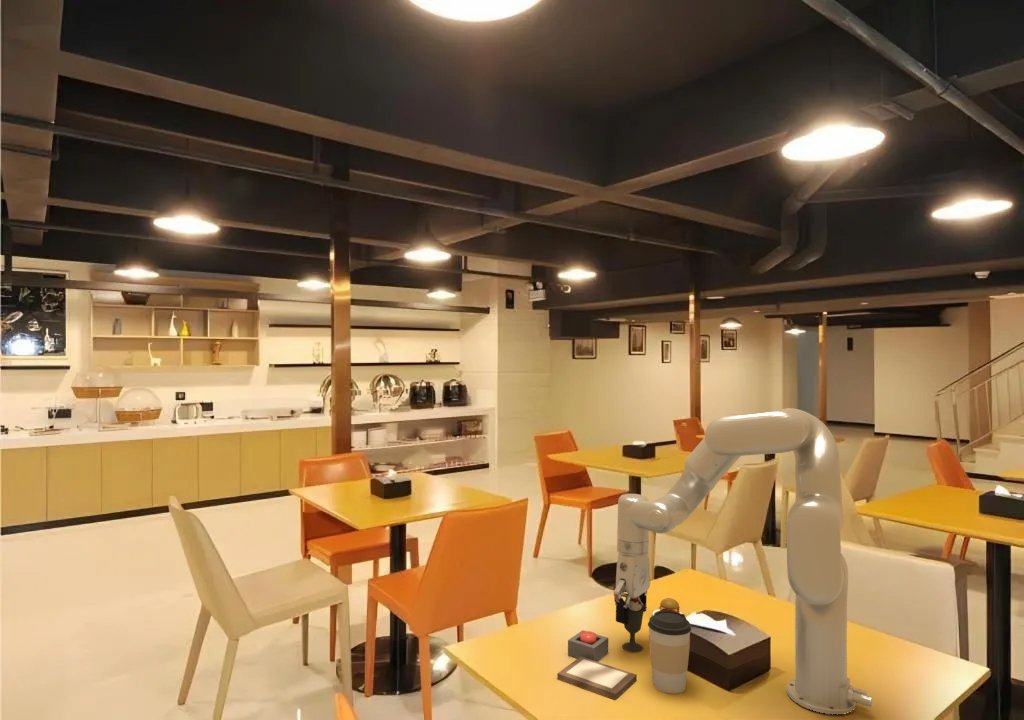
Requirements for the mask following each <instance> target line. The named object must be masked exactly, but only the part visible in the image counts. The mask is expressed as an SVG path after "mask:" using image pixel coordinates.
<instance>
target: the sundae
mask: <svg viewBox="0 0 1024 720" xmlns="http://www.w3.org/2000/svg"><path fill="white" fill-rule="evenodd" d="M628 607H629V624H628V625H626V624H623V628H625V630H626V631H627V633H629V642H625V643H623V644H622V649H623V650H625V651H627V652H630V653H638V652H641V651H643V649H644V648H643V645H641V644H640V643H638V642H637V641H636V633H639V631H641V629H642V623H643V617H644V613H645V612H646V611H647V608H648V607H647V605H646V606H645V605H644V604H643V603H642V602H641V600H640V597H639V596H638V597H637V598H635V599H633V598H631V597H630V601H629V604H628ZM645 610H646V611H645ZM644 611H645V612H644Z"/></svg>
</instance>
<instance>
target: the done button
mask: <svg viewBox="0 0 1024 720" xmlns="http://www.w3.org/2000/svg"><path fill="white" fill-rule="evenodd" d="M584 631H585V632H582V633H580V641H581V642H584V643H587V644H590V645H593V644H594V643H596V634H597V633H596V632H593V631H587V630H584Z"/></svg>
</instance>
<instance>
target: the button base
mask: <svg viewBox="0 0 1024 720" xmlns="http://www.w3.org/2000/svg"><path fill="white" fill-rule="evenodd" d="M585 631H586V630H584V629H583V630H580V631H579V632H578V633H575V635H573V636H572V637H570V638H569V639H568V640H567V656H569V655H570V656H569V657H572V658H575V659H578V658H579V657H580V656H581V657H584V658H587V659H590V660H593V661H596V662H599V660H601V659H602V658H604V657H605V656H606V655H607V654H608V653H609V637H607V636H604V635H600V634H597V633H595V634H596V643H594V644H593V645H590V644H587V643H584V642H581V641H580V633H582V632H585Z"/></svg>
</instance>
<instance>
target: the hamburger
mask: <svg viewBox="0 0 1024 720" xmlns="http://www.w3.org/2000/svg"><path fill="white" fill-rule="evenodd" d="M662 610H669V611H675V612H678V613H681V614H684V613H683V612H681V611H680V604H679V602H678V601H677V599H674V598H672V597H671V598H670V597H667V598H664V599H662V600H661V601H660V603H659V607H658V608H657V609H655V610H653V612H652V613H651V615H652V616H653V615H654V613H655V612H657V611H662Z"/></svg>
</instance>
